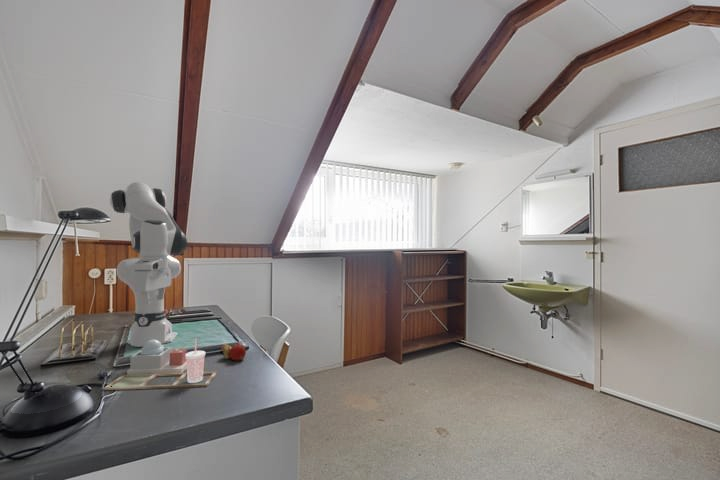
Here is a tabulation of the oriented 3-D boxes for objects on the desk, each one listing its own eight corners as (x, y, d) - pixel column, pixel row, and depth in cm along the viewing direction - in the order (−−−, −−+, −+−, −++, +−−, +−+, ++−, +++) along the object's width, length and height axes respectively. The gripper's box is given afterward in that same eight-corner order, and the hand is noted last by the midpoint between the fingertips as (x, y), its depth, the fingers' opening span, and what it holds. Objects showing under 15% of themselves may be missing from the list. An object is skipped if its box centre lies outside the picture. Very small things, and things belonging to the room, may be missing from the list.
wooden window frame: (123, 376, 117) (123, 374, 117) (217, 373, 120) (217, 371, 120) (102, 390, 106) (102, 388, 106) (206, 386, 109) (206, 384, 109)
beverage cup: (184, 385, 110) (184, 341, 110) (185, 378, 116) (186, 336, 116) (205, 382, 112) (205, 339, 113) (205, 375, 118) (205, 335, 118)
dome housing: (144, 362, 130) (145, 346, 130) (194, 361, 132) (194, 345, 132) (127, 374, 118) (127, 357, 118) (181, 372, 120) (181, 355, 120)
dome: (147, 355, 128) (147, 337, 128) (166, 354, 129) (167, 336, 129) (137, 361, 121) (137, 342, 121) (158, 361, 122) (158, 342, 122)
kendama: (213, 356, 142) (229, 361, 129) (216, 340, 144) (231, 344, 130) (232, 355, 147) (248, 361, 134) (234, 340, 149) (251, 344, 135)
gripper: (159, 262, 135) (159, 297, 135) (129, 265, 115) (128, 306, 114) (175, 262, 136) (175, 297, 135) (148, 265, 115) (148, 306, 115)
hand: (154, 301), depth 125 cm, fingers open, 8 cm apart
